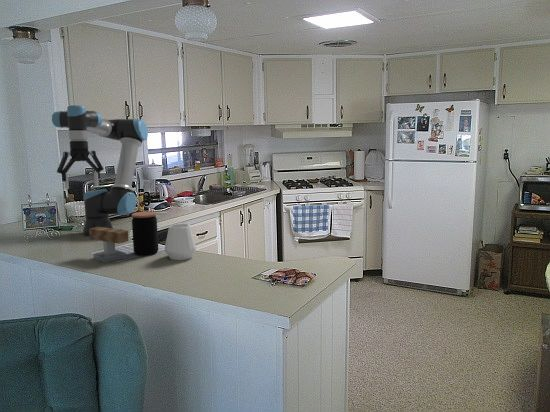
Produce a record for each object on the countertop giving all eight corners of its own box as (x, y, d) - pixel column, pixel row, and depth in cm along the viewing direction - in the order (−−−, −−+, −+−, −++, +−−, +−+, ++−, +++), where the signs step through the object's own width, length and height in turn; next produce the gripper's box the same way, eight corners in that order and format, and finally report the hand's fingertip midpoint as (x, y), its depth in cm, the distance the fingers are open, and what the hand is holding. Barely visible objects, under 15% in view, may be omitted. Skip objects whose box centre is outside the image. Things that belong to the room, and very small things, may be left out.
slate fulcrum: (115, 253, 204) (114, 236, 203) (126, 257, 197) (125, 239, 196) (93, 258, 197) (92, 240, 196) (104, 262, 190) (102, 243, 189)
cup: (194, 261, 191) (193, 228, 189) (162, 261, 191) (160, 229, 188) (197, 252, 205) (196, 222, 202) (167, 253, 204) (166, 222, 201)
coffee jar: (147, 248, 212) (145, 210, 209) (163, 252, 206) (161, 212, 203) (128, 253, 203) (126, 214, 200) (144, 257, 197) (142, 216, 194)
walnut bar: (89, 238, 198) (89, 228, 197) (99, 236, 202) (98, 226, 201) (119, 243, 189) (118, 233, 188) (128, 241, 193) (127, 230, 193)
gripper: (101, 139, 217) (104, 184, 220) (46, 140, 200) (50, 189, 203) (109, 139, 212) (112, 185, 215) (52, 141, 194) (56, 190, 198)
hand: (82, 187), depth 209 cm, fingers open, 13 cm apart
